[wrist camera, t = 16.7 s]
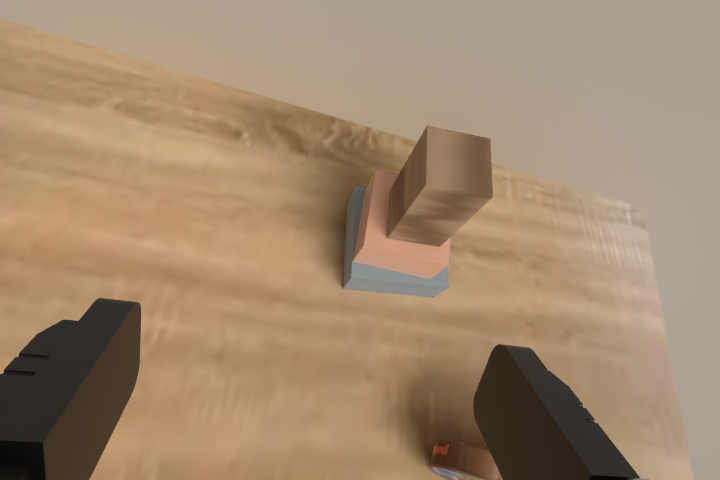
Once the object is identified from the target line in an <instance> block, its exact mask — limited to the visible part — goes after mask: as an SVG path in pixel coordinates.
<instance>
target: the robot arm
mask: <svg viewBox="0 0 720 480" xmlns="http://www.w3.org/2000/svg"><path fill="white" fill-rule="evenodd" d="M140 332H141V306H140V303H138V302H131V301H122V300H113V299H104V298H98V299H97V300H96V301H95V302H94V303H93V304H92V305H91V307H90V308H89V309H88V310H87V312H86V313H85V314H84V315H83V316H82V318H81V319H80V320H79V321H72V320H62V321H60V322H58V323H57V324H55V325H53V326H51V327H49V328H47V329H46V330H44V331H42V332H40V333H38V334H37V335H36V336H35V337H34V338H33V339H32V340H31V341H30V342H29V343H28V345H27V346H26V347H25V348H24V349H23V350H22V351H21V352H20V353H19V357H15V359H14V360H13V361H12V362H11V363H10V364H9V365H8V366H7V367H6V368H5V369H4V373H3V374H0V480H89V479H90V477H91V475H92V473H93V471H94V469H95V467H96V465H97V463H98V461H99V459H100V457H101V455H102V453H103V451H104V449H105V447H106V445H107V443H108V441H109V439H110V437H111V435H112V433H113V431H114V429H115V427H116V425H117V423H118V421H119V419H120V417H121V415H122V412H123V410H124V408H125V406H126V404H127V402H128V400H129V398H130V396H131V394H132V392H133V389H134V387H135V383H136V380H137V376H138V371H139V363H140ZM474 416H475V420H476V422H477V425H478V427H479V429H480V431H481V433H482V435H483V438H484V440H485V442H486V444H487V446H488V448H489V451H490V453H491V455H492V457H493V459H494V461H495V464H496V466H497V468H498V470H499V472H500V475H501V477H502V479H503V480H648V479H641V478H640V477H639V476H638V475H637V473H636V472H635V471H634V469H633V468H632V467H631V466H630V464H629V463H628V462H627V460H626V459H625V458H624V457H623V455H622V454H621V453H620V452H619V450H618V449H617V448H616V446H615V445H614V444H613V443H612V441H611V440H610V439H609V437H608V436H607V435H606V434H605V432H604V431H603V430H602V428H601V427H600V426H599V425H598V423H595V422H594V420H595V419H594V418H593V417H592V416H591V414H590V413H589V412H588V411H587V409H586V408H583V404H582V403H581V402H580V400H579V399H578V398H577V396H576V395H575V394H574V393H573V391H572V390H571V389H570V387H569V386H567V385H566V384H565V383H564V382H562V381H561V380H560V379H559V378H558V377H556V376H555V375H554V374H553V373H551V372H550V371H548V370H547V368H546V367H545V366H544V364H543V363H542V362H541V360H540V359H539V358H538V356H537V355H536V354H535V352H534V351H533V350H532V349H530V348H527V347H518V346H510V345H500V344H499V345H497V346H495V347H494V349H493V350H492V352H491V355H490V357H489V360H488V362H487V365H486V368H485V370H484V373H483V375H482V378H481V380H480V383H479V385H478V388H477V391H476V393H475V397H474Z"/></svg>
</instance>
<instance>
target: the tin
mask: <svg viewBox="0 0 720 480" xmlns="http://www.w3.org/2000/svg"><path fill="white" fill-rule="evenodd" d="M428 468H429V469H430V470H431V471H432V472H434V473H435V474H437V475H439V476H441V477H443V478H446V479H448V480H503V479H502V477H501V475H500V472H499V470H498V468H497V466H496V464H495V461H494V459H493V457H492V455H491V453H490V451H489V449H488V448H485V447H482V446H479V445H475V444H472V443H468V442H464V441H458V440H448V441H436V443H435V445H434V449H433V453H432V457H431V461H430V464H429V465H428Z"/></svg>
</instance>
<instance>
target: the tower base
mask: <svg viewBox="0 0 720 480" xmlns="http://www.w3.org/2000/svg"><path fill="white" fill-rule="evenodd" d="M366 188H367V187H361V186H355V187H354V190H353V192H352V194H351V196H350V198H349V200H348V202H347V216H346V236H345V256H344V276H343V289H350V290H360V291H370V292H380V293H391V294H401V295H411V296H422V297H432V298H433V297H435V296H436V295H438V294H439V293H441V292H443V291H444V290H446V289H447V288H449V283H448V266H447V267H446V268H444V269H443V270H442V271H440V272H439V273H438V274H436V275H435V276H434V277H432V278H431V279H427V278H422V277H418V276H414V275H409V274H405V273H401V272H396V271H392V270H388V269H383V268H379V267H375V266H370V265H366V264H362V263H357V262H353V257H354V251H355V246H356V240H357V234H358V228H359V222H360V217H361V211H362V205H363V199H364V193H365V190H366Z"/></svg>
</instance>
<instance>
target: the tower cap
mask: <svg viewBox="0 0 720 480" xmlns="http://www.w3.org/2000/svg"><path fill="white" fill-rule="evenodd" d="M397 177H398V175H397V174H394V173H390V172H386V171H382V170H378V169H376V170H375V172H374V174H373V176H372V178H371V180H370V182H369V184H368V186H367V188H366V190H365V193H364V199H363V205H362V211H361V217H360V222H359V228H358V234H357V240H356V246H355V251H354V257H353V262H357V263H362V264H366V265H370V266H375V267H379V268H383V269H388V270H392V271H396V272H401V273H405V274H409V275H414V276H418V277H422V278H427V279H431V278H432V277H434V276H435V275H436V274H438V273H439V272H440V271H442V270H443V269H444V268H446V267H447V266H448V264H449V251H450V238H451V237H450V238H449V239H448V240H447V241H446V242H445V243H443V244H442V245H441V246H440V247H437V246H431V245H425V244H419V243H412V242H406V241H400V240H394V239H387V233H388V216H389V199H390V189H391V187H392V186H393V184H394V182H395V180H396V179H397Z"/></svg>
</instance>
